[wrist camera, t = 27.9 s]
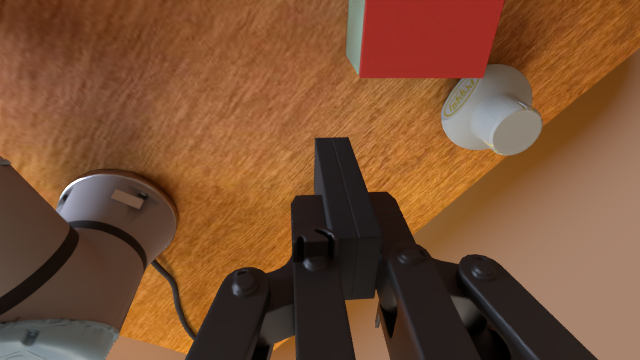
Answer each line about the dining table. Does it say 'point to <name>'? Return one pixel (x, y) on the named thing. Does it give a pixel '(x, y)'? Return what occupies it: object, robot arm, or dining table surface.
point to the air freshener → (492, 112)
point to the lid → (428, 38)
